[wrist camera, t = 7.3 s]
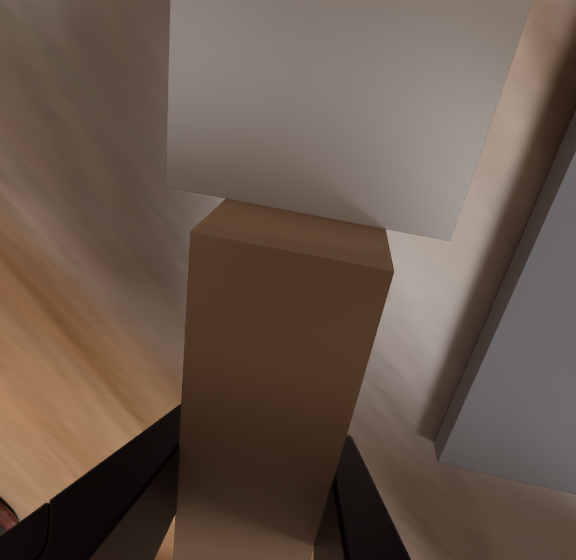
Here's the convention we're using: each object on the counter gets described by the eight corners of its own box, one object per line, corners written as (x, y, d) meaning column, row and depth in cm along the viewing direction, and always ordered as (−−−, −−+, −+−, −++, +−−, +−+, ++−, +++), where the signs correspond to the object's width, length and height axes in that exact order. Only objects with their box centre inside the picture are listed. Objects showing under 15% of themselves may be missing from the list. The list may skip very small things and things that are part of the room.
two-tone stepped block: (334, 545, 12) (329, 662, 10) (170, 505, 13) (126, 609, 10) (622, -338, 5) (889, -755, 3) (211, -381, 5) (83, -791, 3)
